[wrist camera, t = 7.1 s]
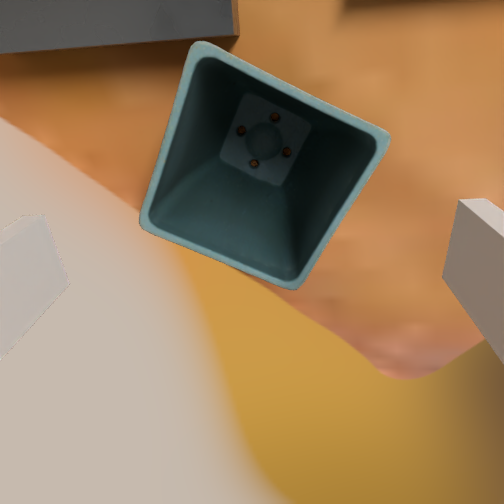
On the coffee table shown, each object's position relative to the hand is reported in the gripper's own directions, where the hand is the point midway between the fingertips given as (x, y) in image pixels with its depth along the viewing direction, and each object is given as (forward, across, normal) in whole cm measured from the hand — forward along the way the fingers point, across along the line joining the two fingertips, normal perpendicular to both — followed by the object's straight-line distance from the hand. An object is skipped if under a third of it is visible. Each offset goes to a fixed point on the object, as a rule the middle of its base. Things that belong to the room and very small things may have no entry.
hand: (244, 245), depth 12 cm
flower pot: (+14, 0, 0) cm, 14 cm away
